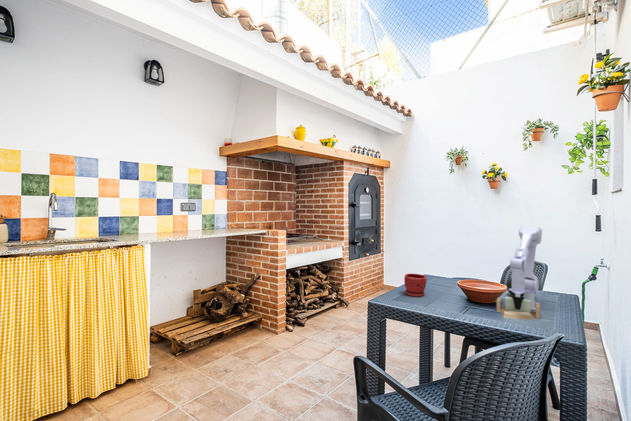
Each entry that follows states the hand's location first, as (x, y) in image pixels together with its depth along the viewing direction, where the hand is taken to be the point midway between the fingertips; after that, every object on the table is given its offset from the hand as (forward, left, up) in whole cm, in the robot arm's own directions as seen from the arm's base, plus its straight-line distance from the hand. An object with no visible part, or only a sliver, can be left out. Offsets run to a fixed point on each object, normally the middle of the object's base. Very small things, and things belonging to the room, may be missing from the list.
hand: (517, 307), depth 168 cm
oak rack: (0, 0, -3) cm, 3 cm away
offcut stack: (+7, 0, -3) cm, 8 cm away
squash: (-38, +1, -3) cm, 38 cm away
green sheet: (0, 0, -3) cm, 3 cm away
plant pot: (-6, -54, -3) cm, 54 cm away
